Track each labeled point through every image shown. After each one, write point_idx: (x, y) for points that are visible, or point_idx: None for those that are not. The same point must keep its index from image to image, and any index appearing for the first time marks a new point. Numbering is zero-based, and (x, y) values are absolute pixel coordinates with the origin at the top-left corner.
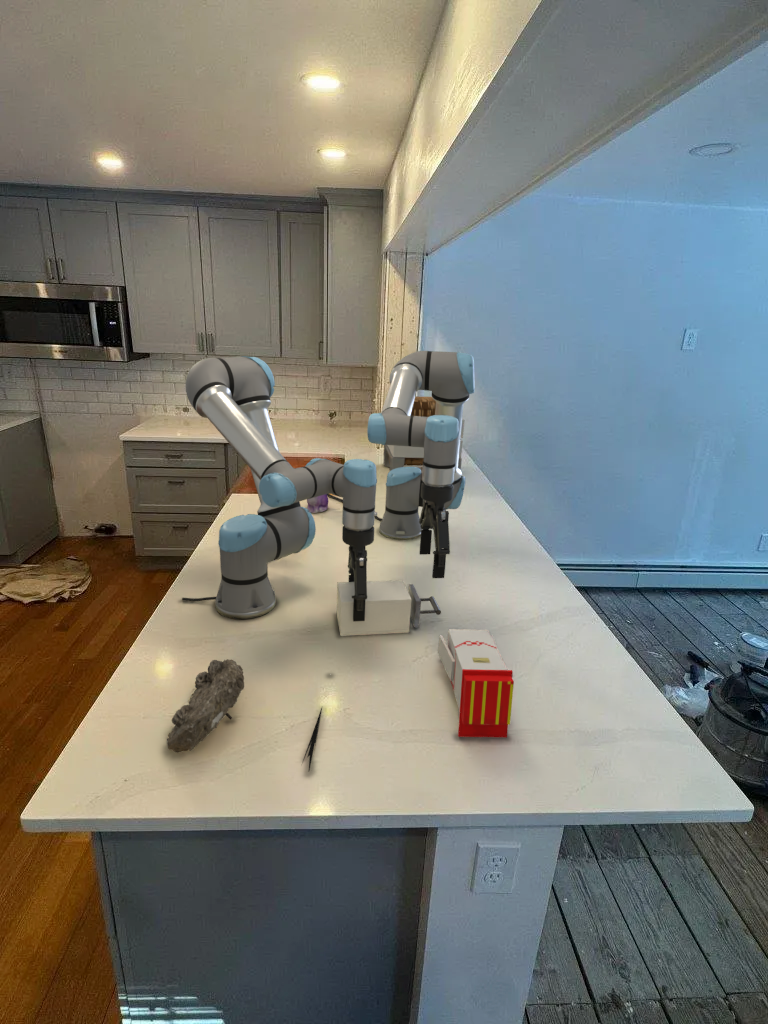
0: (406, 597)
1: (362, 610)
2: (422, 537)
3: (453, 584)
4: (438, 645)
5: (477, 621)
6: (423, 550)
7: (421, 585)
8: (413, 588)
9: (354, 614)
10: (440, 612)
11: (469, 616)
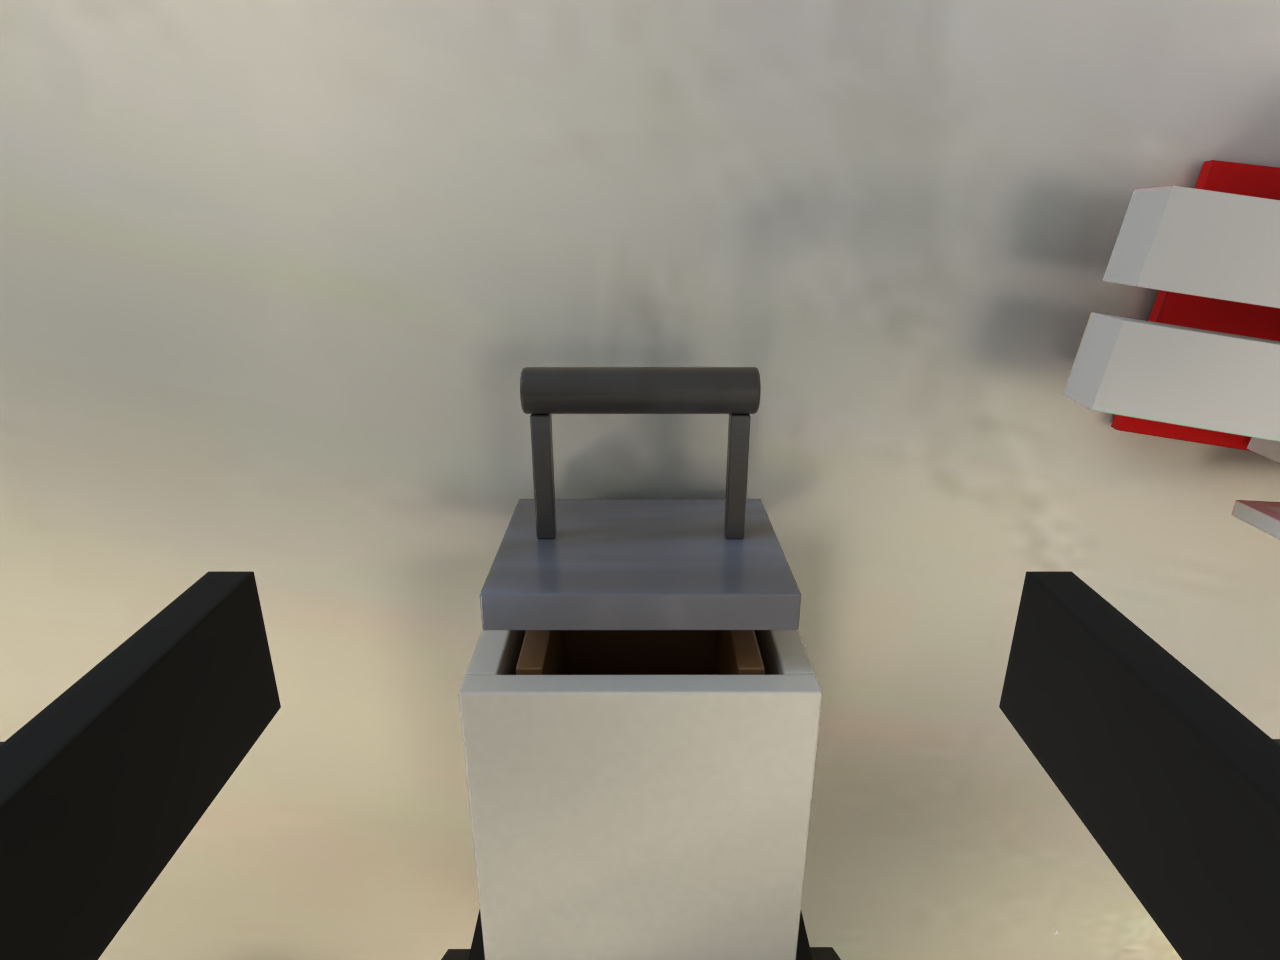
0: (786, 722)
1: (832, 951)
2: (90, 943)
3: (28, 21)
4: (1273, 535)
5: (690, 5)
6: (241, 710)
7: (100, 328)
8: (568, 609)
9: None
10: (758, 374)
11: (606, 53)
